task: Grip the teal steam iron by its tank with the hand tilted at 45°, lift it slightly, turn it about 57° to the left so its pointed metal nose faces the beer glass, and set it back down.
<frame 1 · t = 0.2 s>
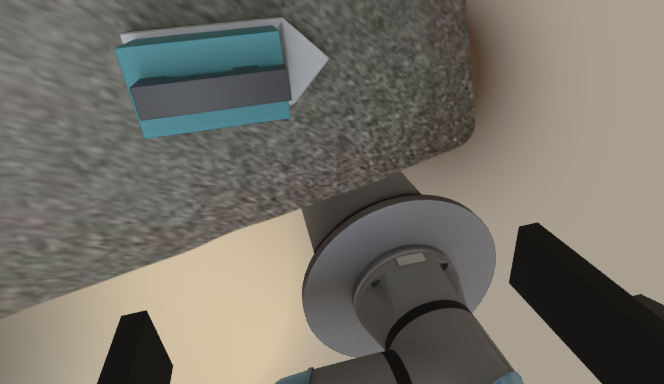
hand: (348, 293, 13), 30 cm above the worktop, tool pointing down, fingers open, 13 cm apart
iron: (296, 59, 38), on the worktop
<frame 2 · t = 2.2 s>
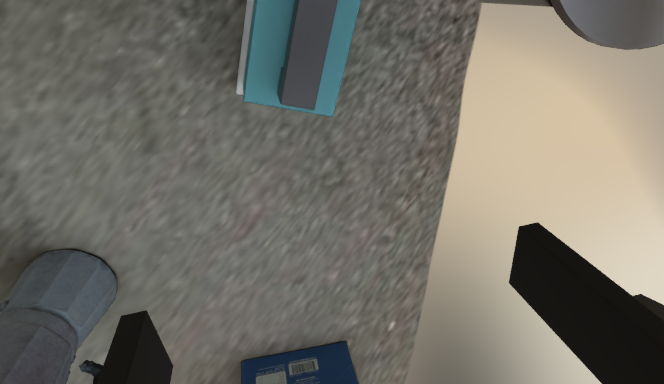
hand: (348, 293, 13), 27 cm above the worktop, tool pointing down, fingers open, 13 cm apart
protein box: (297, 372, 56), on the worktop
moka pot: (78, 279, 41), on the worktop
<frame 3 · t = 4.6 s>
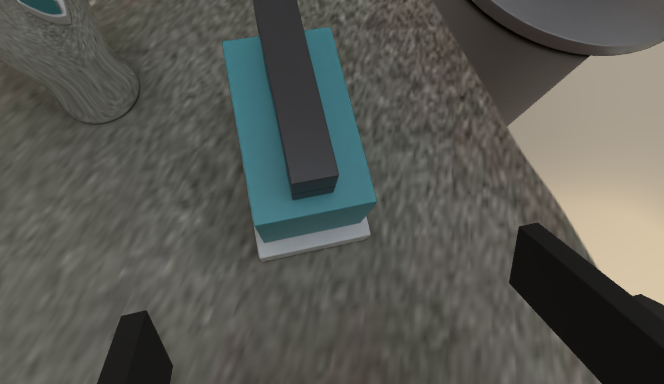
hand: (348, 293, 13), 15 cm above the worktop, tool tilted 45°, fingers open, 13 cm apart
beer glass: (101, 91, 31), on the worktop
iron: (278, 78, 32), on the worktop
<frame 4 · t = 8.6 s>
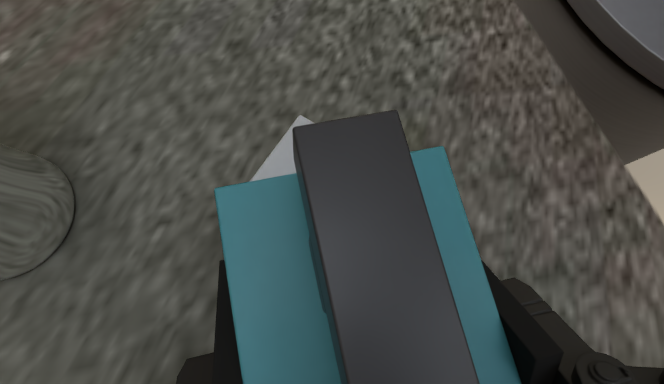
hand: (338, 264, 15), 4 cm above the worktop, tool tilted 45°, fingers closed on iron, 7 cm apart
beer glass: (9, 215, 18), on the worktop
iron: (311, 184, 19), on the worktop, touching gripper
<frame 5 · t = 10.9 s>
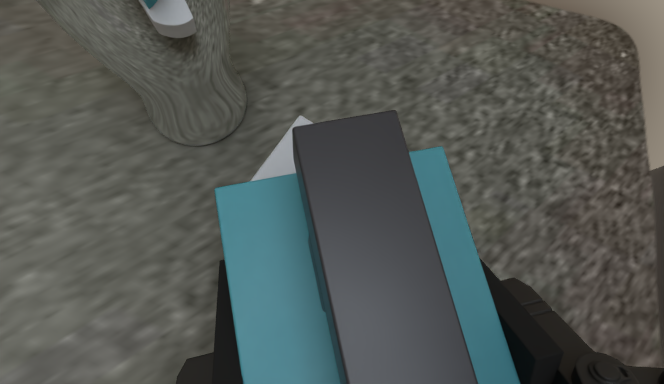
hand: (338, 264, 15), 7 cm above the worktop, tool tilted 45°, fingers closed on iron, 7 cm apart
beer glass: (199, 104, 24), on the worktop
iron: (311, 184, 19), point 4 cm above the worktop, touching gripper
when the fingers open (4 cm above the worktop, at t = 13.4 s): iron stays where it is, on the worktop.
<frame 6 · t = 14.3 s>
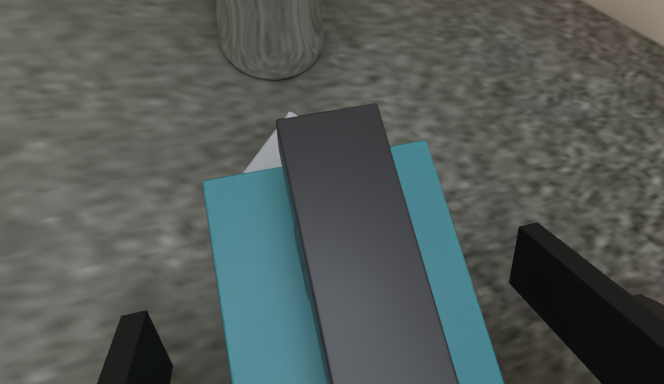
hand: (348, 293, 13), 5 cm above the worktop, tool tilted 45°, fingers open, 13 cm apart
beer glass: (272, 37, 22), on the worktop
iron: (301, 180, 20), on the worktop
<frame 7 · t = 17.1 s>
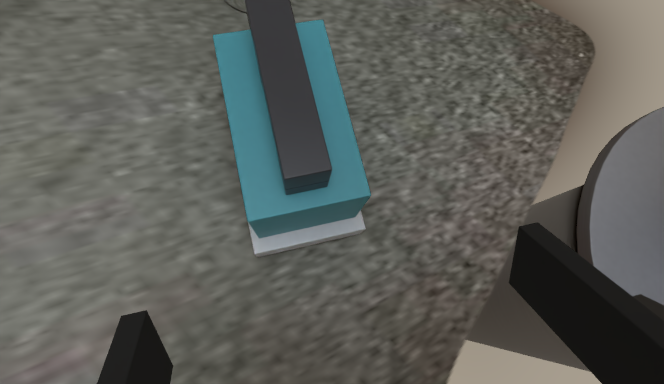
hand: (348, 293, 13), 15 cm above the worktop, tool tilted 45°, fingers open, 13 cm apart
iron: (271, 72, 32), on the worktop
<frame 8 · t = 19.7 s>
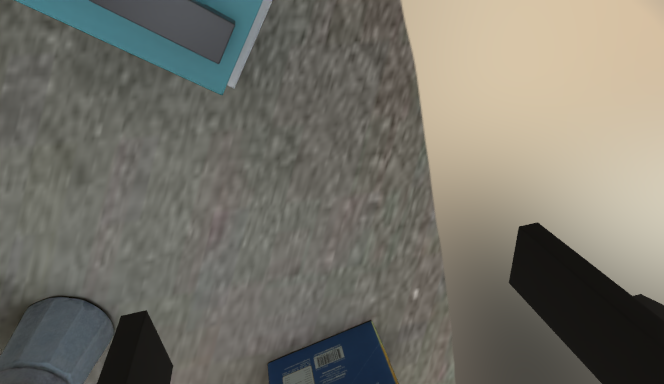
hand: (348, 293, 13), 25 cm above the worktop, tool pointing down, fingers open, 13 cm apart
protein box: (330, 361, 53), on the worktop
moka pot: (73, 323, 41), on the worktop
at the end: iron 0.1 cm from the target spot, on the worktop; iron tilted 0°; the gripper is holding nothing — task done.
